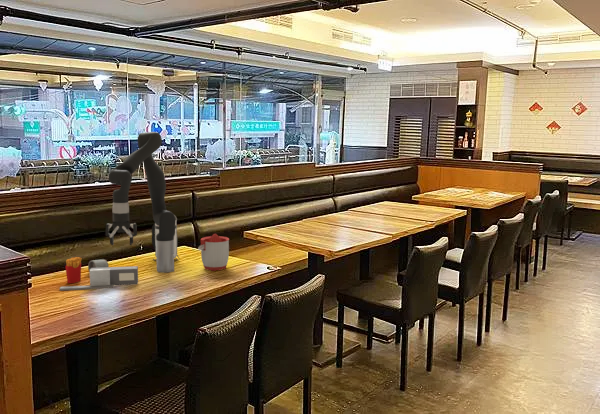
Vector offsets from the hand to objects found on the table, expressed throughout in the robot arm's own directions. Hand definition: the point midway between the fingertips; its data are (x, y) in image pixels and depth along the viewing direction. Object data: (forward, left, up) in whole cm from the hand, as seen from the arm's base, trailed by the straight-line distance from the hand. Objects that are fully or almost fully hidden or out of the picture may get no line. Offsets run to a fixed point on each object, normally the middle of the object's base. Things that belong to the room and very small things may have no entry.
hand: (121, 244), depth 259 cm
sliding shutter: (+10, +1, -19) cm, 22 cm away
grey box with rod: (+11, -2, -21) cm, 23 cm away
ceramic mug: (+16, -27, -21) cm, 37 cm away
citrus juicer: (-46, -26, -21) cm, 57 cm away
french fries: (+24, -12, -21) cm, 34 cm away
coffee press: (-19, -51, -21) cm, 59 cm away
